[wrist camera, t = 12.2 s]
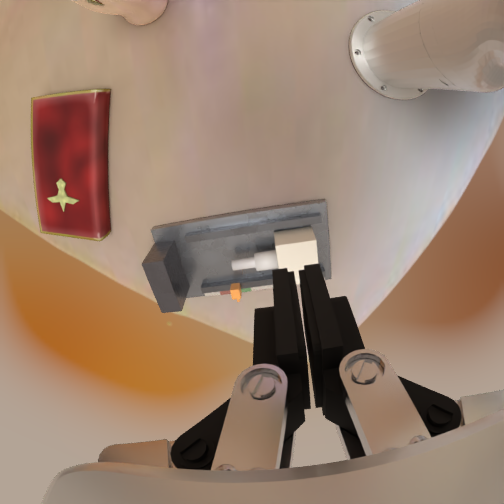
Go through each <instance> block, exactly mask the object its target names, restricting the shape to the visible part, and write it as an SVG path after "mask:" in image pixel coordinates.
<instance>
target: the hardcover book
mask: <svg viewBox="0 0 504 504" xmlns="http://www.w3.org/2000/svg"><path fill="white" fill-rule="evenodd" d="M110 91H111V89H94V90H83V91H74V92H66V93H58V94H51V95H45V96H39V97H33V98H31V150H32V167H33V179H34V189H35V198H36V206H37V213H38V219H39V225H40V231H41V233H45V234H52V235H59V236H66V237H73V238H80V239H87V240H95V241H101V240H103V239H104V238H106V237H107V236H108V235H109V233H110V232H111V226H110V211H109V191H108V124H109V105H110Z"/></svg>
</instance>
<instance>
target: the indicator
mask: <svg viewBox="0 0 504 504" xmlns="http://www.w3.org/2000/svg"><path fill="white" fill-rule="evenodd" d="M230 292H231V296H232V299H237V301H238V302H240V299H241V293H242V291H241V287H240V283H233V284H231V288H230Z"/></svg>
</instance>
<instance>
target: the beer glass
mask: <svg viewBox="0 0 504 504" xmlns="http://www.w3.org/2000/svg"><path fill="white" fill-rule="evenodd" d="M71 1H73V2H75V3H76V4H78V5H80V6H82V7H84V8H87V9H89V10H92V11H95V12H99V13H104V14H112V15H121V16H123V17H124V18H125V19H126V20H127V21H128V22H129V23H131V24H134V25H146V24H149V23H151V22H153V21H155V20H156V19H158V18H159V17H160V16H161V15H162V14H163V12H164V11H165V9H166V6H167V0H71Z"/></svg>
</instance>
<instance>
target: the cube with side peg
mask: <svg viewBox="0 0 504 504" xmlns="http://www.w3.org/2000/svg"><path fill="white" fill-rule="evenodd" d="M274 238H275V248H276V250H272V251H265V252H258V253H254V257H250V258H243V259H236V260H232V269H233V271H234V270H241V269H248V268H256V270H257V271H262V270H269V269H276V268H278V267H279V269H283V268H287V270H288V272H290V271H294V275H295V281H296V284H300V279H299V270H304V265H310V264H317V263H318V254H317V242H316V238H315V235H314V232H313V230H312V227H304V228H297V229H290V230H283V231H276V232H274Z"/></svg>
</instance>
